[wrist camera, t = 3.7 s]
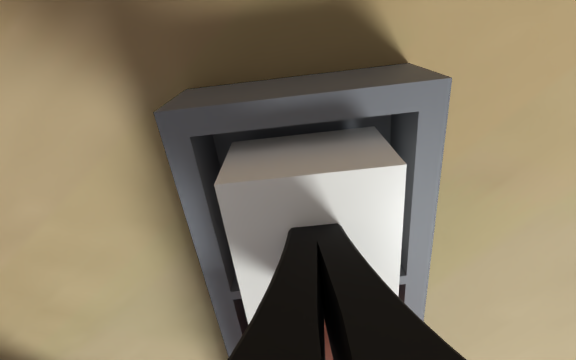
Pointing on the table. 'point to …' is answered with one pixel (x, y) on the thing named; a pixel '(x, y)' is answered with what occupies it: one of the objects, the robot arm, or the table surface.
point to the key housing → (303, 120)
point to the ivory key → (311, 200)
